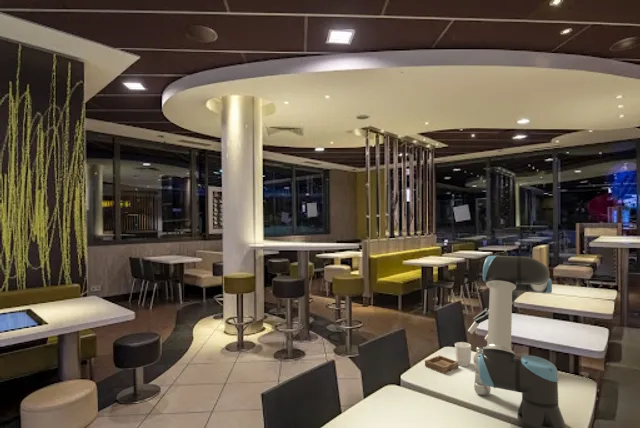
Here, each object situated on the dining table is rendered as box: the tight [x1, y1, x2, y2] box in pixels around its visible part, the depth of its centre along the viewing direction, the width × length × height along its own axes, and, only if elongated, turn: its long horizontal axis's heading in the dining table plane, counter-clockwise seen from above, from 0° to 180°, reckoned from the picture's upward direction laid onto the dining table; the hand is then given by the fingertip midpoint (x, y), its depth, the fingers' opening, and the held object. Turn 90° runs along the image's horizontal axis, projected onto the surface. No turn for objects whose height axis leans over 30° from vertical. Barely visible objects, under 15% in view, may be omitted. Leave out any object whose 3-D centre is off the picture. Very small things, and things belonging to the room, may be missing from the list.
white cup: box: [454, 341, 472, 367], centre depth 197 cm, size 8×8×10 cm
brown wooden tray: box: [424, 355, 459, 375], centre depth 193 cm, size 12×12×3 cm
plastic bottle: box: [472, 345, 491, 397], centre depth 164 cm, size 6×7×20 cm
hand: (477, 336), depth 199 cm, fingers open, 13 cm apart
